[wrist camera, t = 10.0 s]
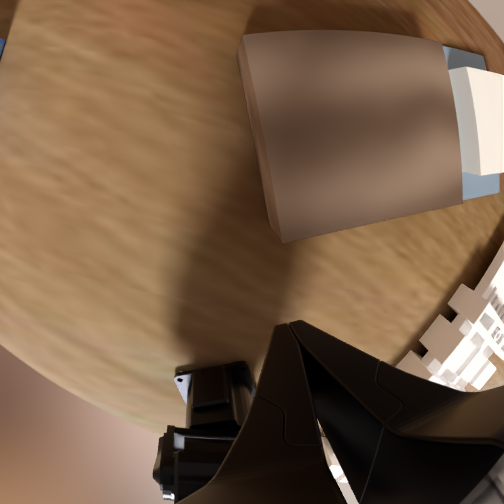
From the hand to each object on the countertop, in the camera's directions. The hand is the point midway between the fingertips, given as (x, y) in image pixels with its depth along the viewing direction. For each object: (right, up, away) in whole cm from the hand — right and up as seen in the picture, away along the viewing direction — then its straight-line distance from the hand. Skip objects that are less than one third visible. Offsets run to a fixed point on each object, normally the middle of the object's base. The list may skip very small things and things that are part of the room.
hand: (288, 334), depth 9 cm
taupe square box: (+6, +11, +10) cm, 16 cm away
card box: (+19, +13, +8) cm, 25 cm away
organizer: (+20, -11, +21) cm, 31 cm away
